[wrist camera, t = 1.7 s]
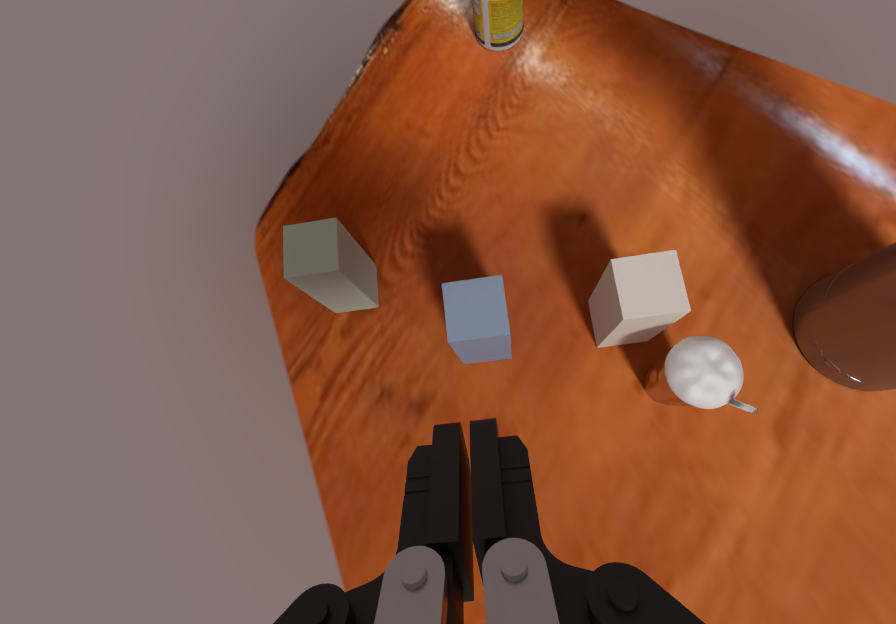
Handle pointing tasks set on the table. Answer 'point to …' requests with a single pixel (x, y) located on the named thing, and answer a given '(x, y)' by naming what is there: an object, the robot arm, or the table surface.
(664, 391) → the milkshake
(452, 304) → the slate blue block
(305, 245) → the sage block
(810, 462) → the table surface
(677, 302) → the cream block
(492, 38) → the supplement bottle
